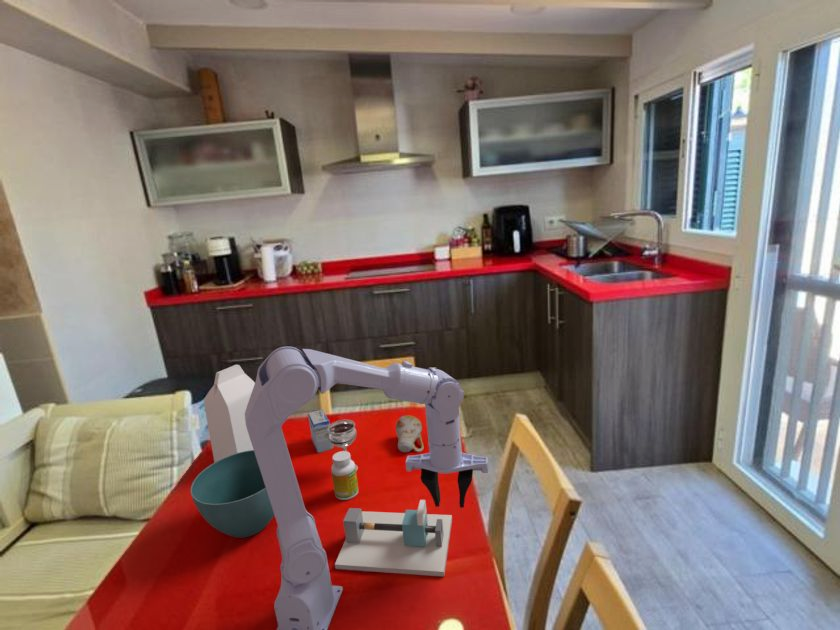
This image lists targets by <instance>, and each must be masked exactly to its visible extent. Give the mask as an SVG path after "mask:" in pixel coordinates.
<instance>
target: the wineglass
mask: <svg viewBox="0 0 840 630" xmlns="http://www.w3.org/2000/svg"><path fill="white" fill-rule="evenodd" d="M355 426H356V423H355V422H354V421H353V420H351V419H340V420H336V421H333V422H332V423H330V425H329V427H328V431H329V440H330V442H331V443H332V444H333V446H335V447H337V448H341V449H343V450H342V451H347V452H348V450H347V447H349V446H350V445H352V444H353V443H354V442H355V440H356V438H357V429H356V427H355ZM355 468H356V472H357V471H358V469H359V467H358V465H357V464H355Z"/></svg>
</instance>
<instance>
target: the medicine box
mask: <svg viewBox="0 0 840 630" xmlns="http://www.w3.org/2000/svg"><path fill="white" fill-rule="evenodd" d="M307 416H308V423H309V428H310V429H309V430H310V434H311V435H310V436H311V441H312V443H313V445H314V447H315V450H316V452H317V453H319V454H320V453H324V452H327V451H330V450H332V449H334V445H333V444H332V443H331V442H330V440H329V431H328V427H329V425H330V424H331V423H330V419H328V417H327V415H326V412H325V411H324V410H323V409H320V410H316V411H312V412H309V413H307Z"/></svg>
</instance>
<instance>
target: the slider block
mask: <svg viewBox="0 0 840 630" xmlns="http://www.w3.org/2000/svg"><path fill="white" fill-rule="evenodd" d="M426 502H427V501H426V499H420V500H419V503H418V506H417V509H405V512H404V513H405V515H404V519H403V522H402V530H403V538H404V545H409V546H426V535H428V533H425V526H428V520H427V514H428V513H427V503H426Z"/></svg>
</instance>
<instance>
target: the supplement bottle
mask: <svg viewBox="0 0 840 630" xmlns="http://www.w3.org/2000/svg"><path fill="white" fill-rule="evenodd" d="M351 456H352V455H351V453H350V452H349V451H348V450H347V451H343V450H342V451H341V450H340V451H338V452H335V453H334V454H333V455H332V457H331V458H332V463H333V464H332V465H331V467H330V469H331V470H330V471H331V472H330V473H331V476H332V483H333V489H334V495H335V497H336V499H338V500H341V501H346V500H347V501H348V500H350V499H353V498H355V497H356V496H357V495H358V494H359V483H358V477H357V471H356V468H355V465H356V464H355V461H354V460H352V458H351Z"/></svg>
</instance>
